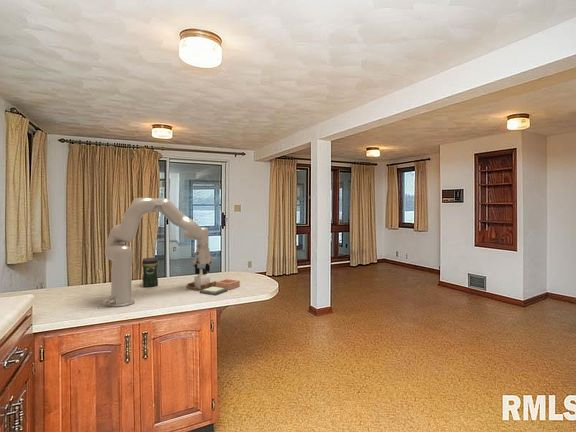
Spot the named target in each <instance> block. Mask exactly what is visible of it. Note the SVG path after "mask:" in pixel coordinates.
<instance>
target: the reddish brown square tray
mask: <svg viewBox="0 0 576 432" xmlns="http://www.w3.org/2000/svg"><path fill="white" fill-rule="evenodd" d="M216 281H217V280H216ZM240 282H241V281H240V280H239V279H238V280H237V279H231V278H230V279H229V278H225V279H222V280H218V281H217V282H216V286H215V287H219V288H226V289H228V291H232V290H234V289H237V288H239V287H240V285H241V283H240Z"/></svg>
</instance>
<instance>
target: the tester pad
mask: <svg viewBox="0 0 576 432" xmlns="http://www.w3.org/2000/svg"><path fill="white" fill-rule="evenodd" d="M221 290H224V288H219V287H216V286H215V287H210V288H207V289H204V290H203V291H209V292H218V291H221Z"/></svg>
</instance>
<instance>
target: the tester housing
mask: <svg viewBox="0 0 576 432" xmlns="http://www.w3.org/2000/svg"><path fill="white" fill-rule="evenodd" d="M206 289H207V288H206ZM203 290H204V289H203ZM203 290H200V291H199V294H202V295H209V296H217V295H221V294H223V293H226V292H227V293H228V291H229V290H228V289H226V288H224V290H221V291H218V292H209V291H203Z"/></svg>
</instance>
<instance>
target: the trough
mask: <svg viewBox="0 0 576 432" xmlns="http://www.w3.org/2000/svg"><path fill="white" fill-rule="evenodd" d="M216 282H217V280H215V281H210V283H207V284H204V285H201V288H195V287H194V281H193V282H189V283H187V286H185V289H186V290H192V291H199V292H200V290H203V289H206V288H210V287H216Z"/></svg>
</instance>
